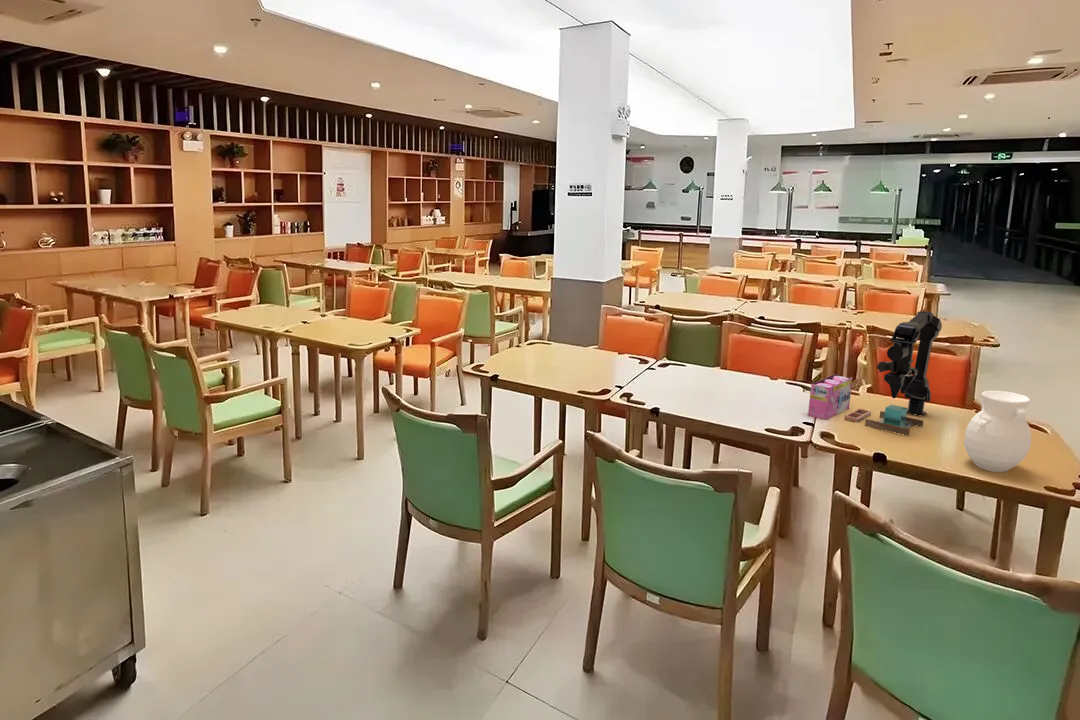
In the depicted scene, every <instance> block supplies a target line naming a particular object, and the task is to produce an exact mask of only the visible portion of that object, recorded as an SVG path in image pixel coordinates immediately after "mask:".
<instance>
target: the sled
mask: <svg viewBox="0 0 1080 720" xmlns="http://www.w3.org/2000/svg"><path fill="white" fill-rule="evenodd" d="M907 410H908V407H903V406H900V405H895V404H890V405H888V406H886V407H885V409H884V412H885V415H884V418H880V419H879V420H876V421H877V422H881V423H886V424H890V425H894V426H899V427H903V428H907V429H910V427H912V426H914V425H913V424H914V422H912V421H907V420H906V417H907V414H908V413H907Z"/></svg>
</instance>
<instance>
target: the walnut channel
mask: <svg viewBox="0 0 1080 720" xmlns="http://www.w3.org/2000/svg"><path fill="white" fill-rule="evenodd" d="M884 415H885V411H882V410H881V411H879V418H880V417H881V418H880V419H883V418H884ZM906 420H907V421H912V422H914V424H913V425H912V426H915V425H918V426H917V427H919V426H923V427H924V420H923V419H919V418H914V417H910V416H906ZM877 421H878V420H873V419H868V418H865V421H864V422H865V423H864V426H865V427H868V426H870V427H869V428H873V427H874V429H877V428H878V429H877V430H881V429H883V430H882V431H885V430H887V431H886V432H889V431H891V432H890V433H893V432H896V433H895V434H897V433H900V434H899V435H902V434H904V435H903V436H906V435H908V436H907V437H909V436H910V433H911V429H910V428H908V429H907V428H903V427H899V426H894V425H890V424H886V423H881V422H877Z"/></svg>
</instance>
